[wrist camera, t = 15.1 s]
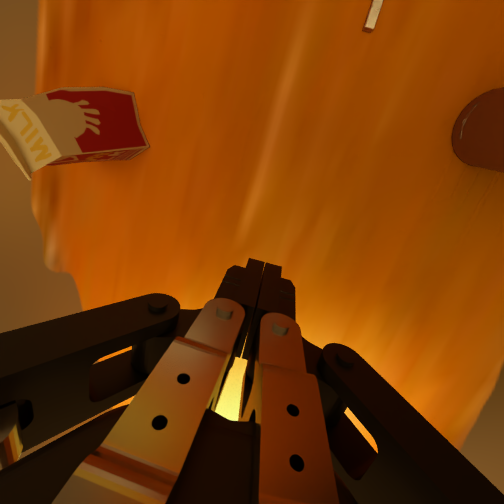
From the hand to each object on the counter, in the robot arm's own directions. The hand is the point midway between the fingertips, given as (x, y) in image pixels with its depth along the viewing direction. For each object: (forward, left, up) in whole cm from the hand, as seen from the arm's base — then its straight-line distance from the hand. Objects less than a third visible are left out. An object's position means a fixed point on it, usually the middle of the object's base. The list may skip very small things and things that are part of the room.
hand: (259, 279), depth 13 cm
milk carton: (+26, 0, -32) cm, 41 cm away
